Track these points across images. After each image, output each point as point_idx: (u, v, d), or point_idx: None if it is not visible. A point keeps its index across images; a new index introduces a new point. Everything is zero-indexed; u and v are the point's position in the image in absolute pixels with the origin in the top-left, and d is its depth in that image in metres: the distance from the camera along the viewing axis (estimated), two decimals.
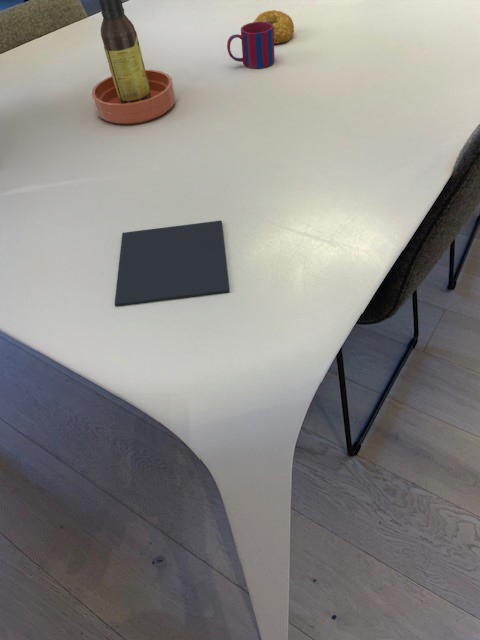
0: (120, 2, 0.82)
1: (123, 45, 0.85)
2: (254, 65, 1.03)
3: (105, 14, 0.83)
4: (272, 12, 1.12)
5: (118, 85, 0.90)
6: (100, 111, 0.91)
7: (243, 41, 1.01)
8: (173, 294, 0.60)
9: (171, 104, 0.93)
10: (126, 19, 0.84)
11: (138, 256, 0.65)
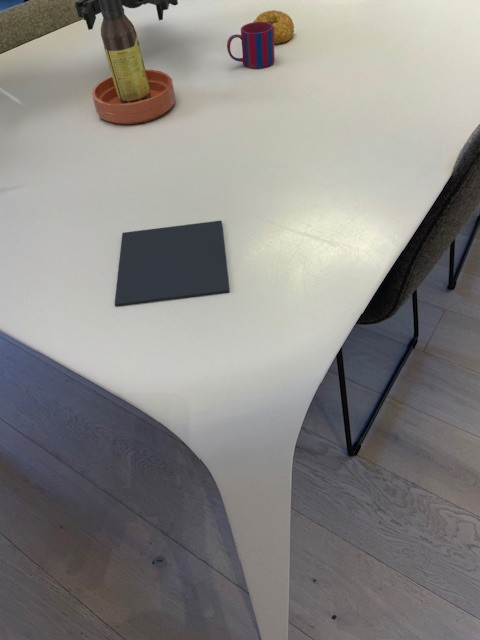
0: (120, 2, 0.82)
1: (123, 45, 0.85)
2: (254, 65, 1.03)
3: (105, 14, 0.83)
4: (272, 12, 1.12)
5: (118, 85, 0.90)
6: (100, 111, 0.91)
7: (243, 41, 1.01)
8: (173, 294, 0.60)
9: (171, 104, 0.93)
10: (126, 19, 0.84)
11: (138, 256, 0.65)
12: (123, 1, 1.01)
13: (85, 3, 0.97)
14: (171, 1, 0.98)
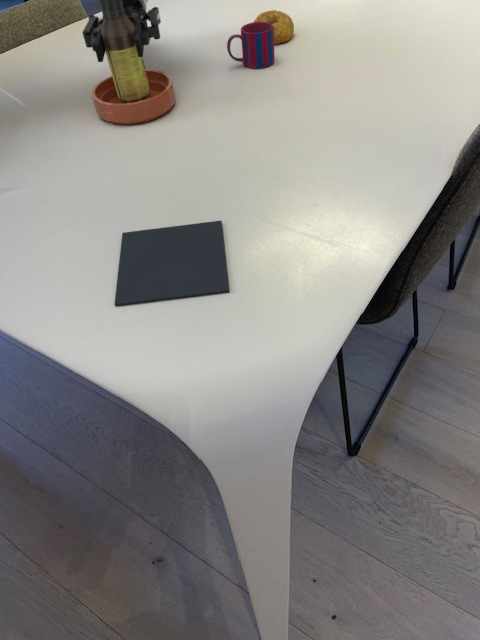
0: (121, 2, 0.82)
1: (124, 45, 0.85)
2: (254, 65, 1.03)
3: (106, 14, 0.83)
4: (272, 12, 1.12)
5: (118, 85, 0.90)
6: (100, 111, 0.91)
7: (243, 41, 1.01)
8: (173, 294, 0.60)
9: (171, 104, 0.93)
10: (127, 19, 0.84)
11: (138, 256, 0.65)
12: None
13: (95, 32, 0.87)
14: (153, 35, 0.89)
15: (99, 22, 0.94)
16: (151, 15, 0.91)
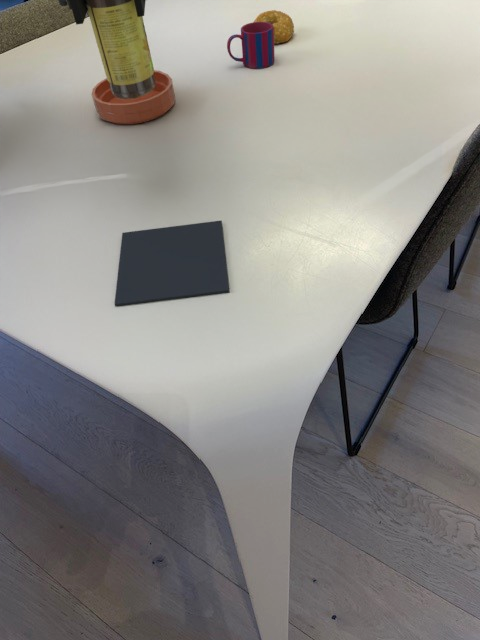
0: None
1: None
2: (254, 65, 1.03)
3: None
4: (272, 12, 1.12)
5: (107, 62, 0.61)
6: (100, 111, 0.91)
7: (243, 41, 1.01)
8: (173, 294, 0.60)
9: (171, 104, 0.93)
10: None
11: (138, 256, 0.65)
12: None
13: None
14: None
15: None
16: None
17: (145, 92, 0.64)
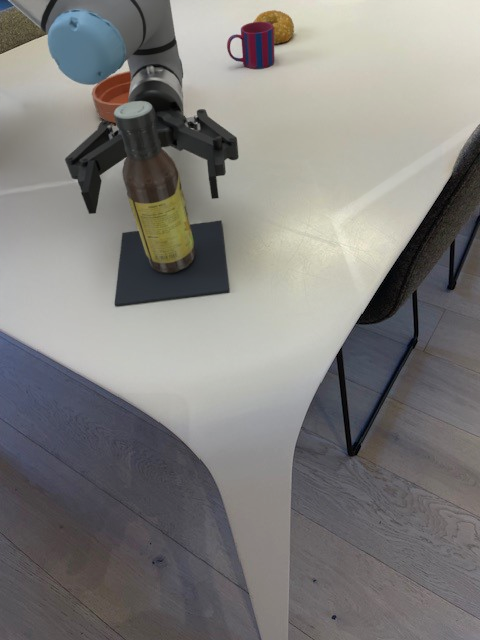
0: (155, 134, 0.51)
1: (159, 195, 0.54)
2: (254, 65, 1.03)
3: (132, 153, 0.51)
4: (272, 12, 1.12)
5: (148, 243, 0.59)
6: (100, 111, 0.91)
7: (243, 41, 1.01)
8: (173, 294, 0.60)
9: None
10: (164, 156, 0.53)
11: (138, 256, 0.65)
12: None
13: (83, 161, 0.57)
14: (228, 155, 0.58)
15: (112, 134, 0.62)
16: (210, 124, 0.60)
17: (185, 266, 0.62)
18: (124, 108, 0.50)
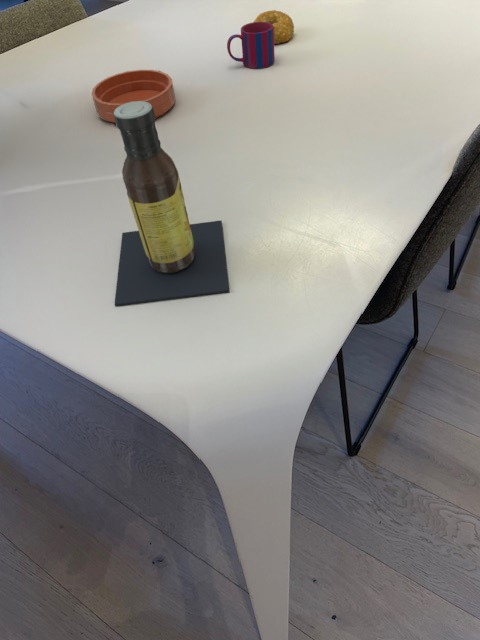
0: (155, 134, 0.51)
1: (159, 195, 0.54)
2: (254, 65, 1.03)
3: (132, 153, 0.51)
4: (272, 12, 1.12)
5: (148, 244, 0.59)
6: (100, 111, 0.91)
7: (243, 41, 1.01)
8: (173, 294, 0.60)
9: (171, 104, 0.93)
10: (163, 157, 0.53)
11: (138, 256, 0.65)
12: None
13: None
14: None
15: None
16: None
17: (185, 266, 0.62)
18: (124, 108, 0.50)
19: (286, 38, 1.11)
